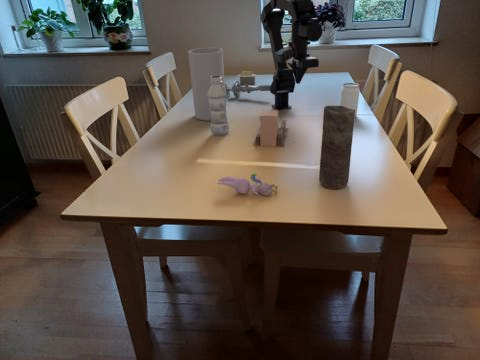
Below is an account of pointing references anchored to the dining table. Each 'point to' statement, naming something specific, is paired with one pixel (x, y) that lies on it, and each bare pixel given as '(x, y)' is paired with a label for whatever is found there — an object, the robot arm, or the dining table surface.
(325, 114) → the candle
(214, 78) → the plastic bottle
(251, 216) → the dining table surface
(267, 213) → the dining table surface
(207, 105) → the cylinder vase
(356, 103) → the can
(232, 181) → the purple toy figure
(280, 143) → the chute
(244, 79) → the platform
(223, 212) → the dining table surface
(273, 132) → the block
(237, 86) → the spaceship
